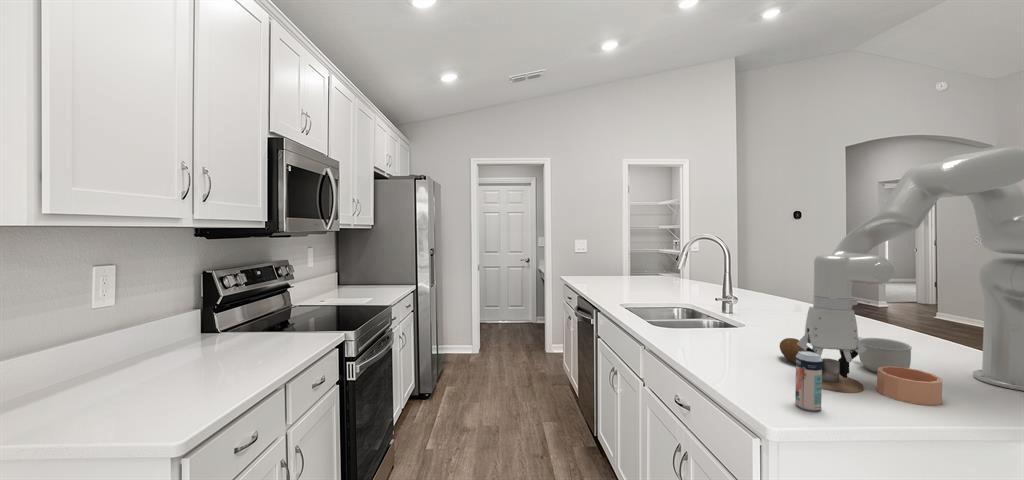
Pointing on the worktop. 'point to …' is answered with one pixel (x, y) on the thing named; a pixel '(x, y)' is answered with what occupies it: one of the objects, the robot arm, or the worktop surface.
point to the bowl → (909, 385)
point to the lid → (838, 379)
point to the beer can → (808, 380)
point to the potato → (790, 348)
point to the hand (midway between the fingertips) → (830, 374)
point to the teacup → (884, 353)
